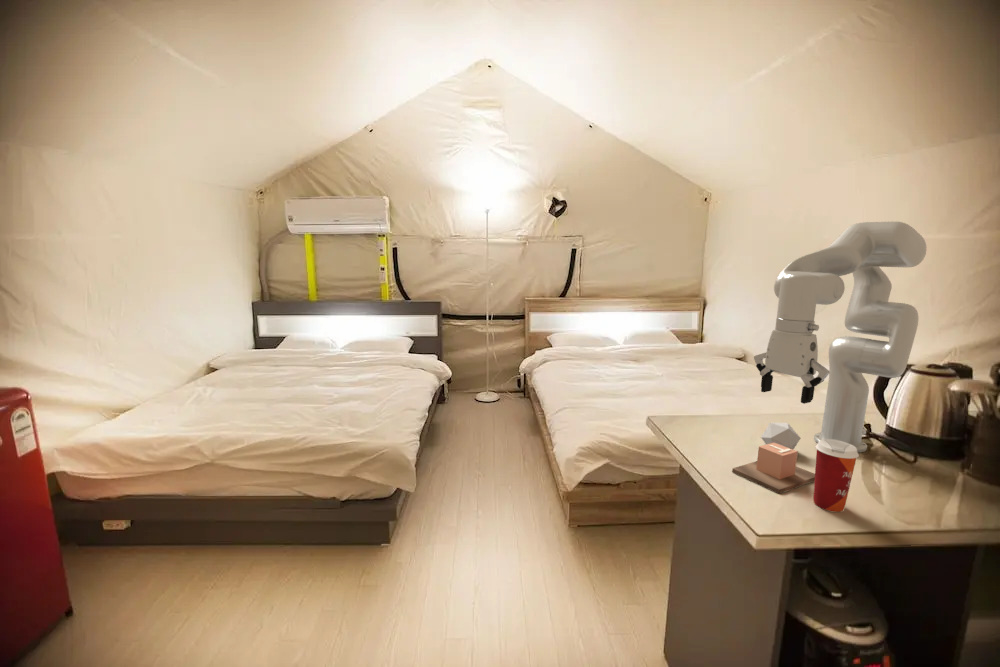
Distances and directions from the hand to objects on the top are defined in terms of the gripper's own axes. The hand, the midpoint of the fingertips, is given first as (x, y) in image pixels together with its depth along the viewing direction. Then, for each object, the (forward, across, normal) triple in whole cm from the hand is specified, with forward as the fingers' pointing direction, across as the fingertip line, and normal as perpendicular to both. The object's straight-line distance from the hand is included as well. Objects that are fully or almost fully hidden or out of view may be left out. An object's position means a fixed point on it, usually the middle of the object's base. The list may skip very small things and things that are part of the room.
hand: (785, 396), depth 115 cm
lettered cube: (+19, 0, 0) cm, 19 cm away
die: (+21, +9, -16) cm, 27 cm away
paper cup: (+20, -14, +3) cm, 25 cm away
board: (+20, 0, 0) cm, 20 cm away
